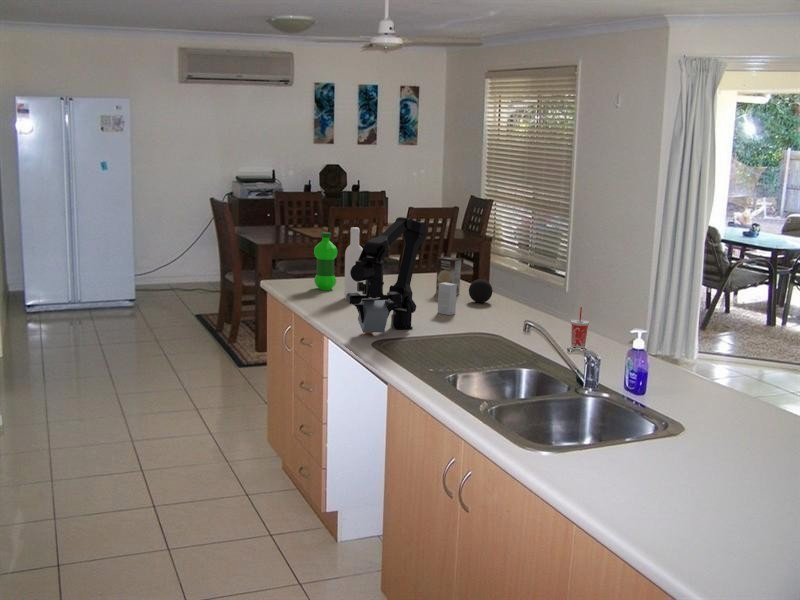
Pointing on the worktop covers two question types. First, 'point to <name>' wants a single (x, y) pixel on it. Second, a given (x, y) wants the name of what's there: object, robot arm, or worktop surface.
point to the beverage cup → (579, 332)
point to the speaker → (480, 291)
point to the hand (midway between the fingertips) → (373, 322)
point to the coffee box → (448, 272)
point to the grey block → (374, 316)
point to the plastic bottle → (325, 262)
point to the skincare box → (447, 298)
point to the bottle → (352, 261)
